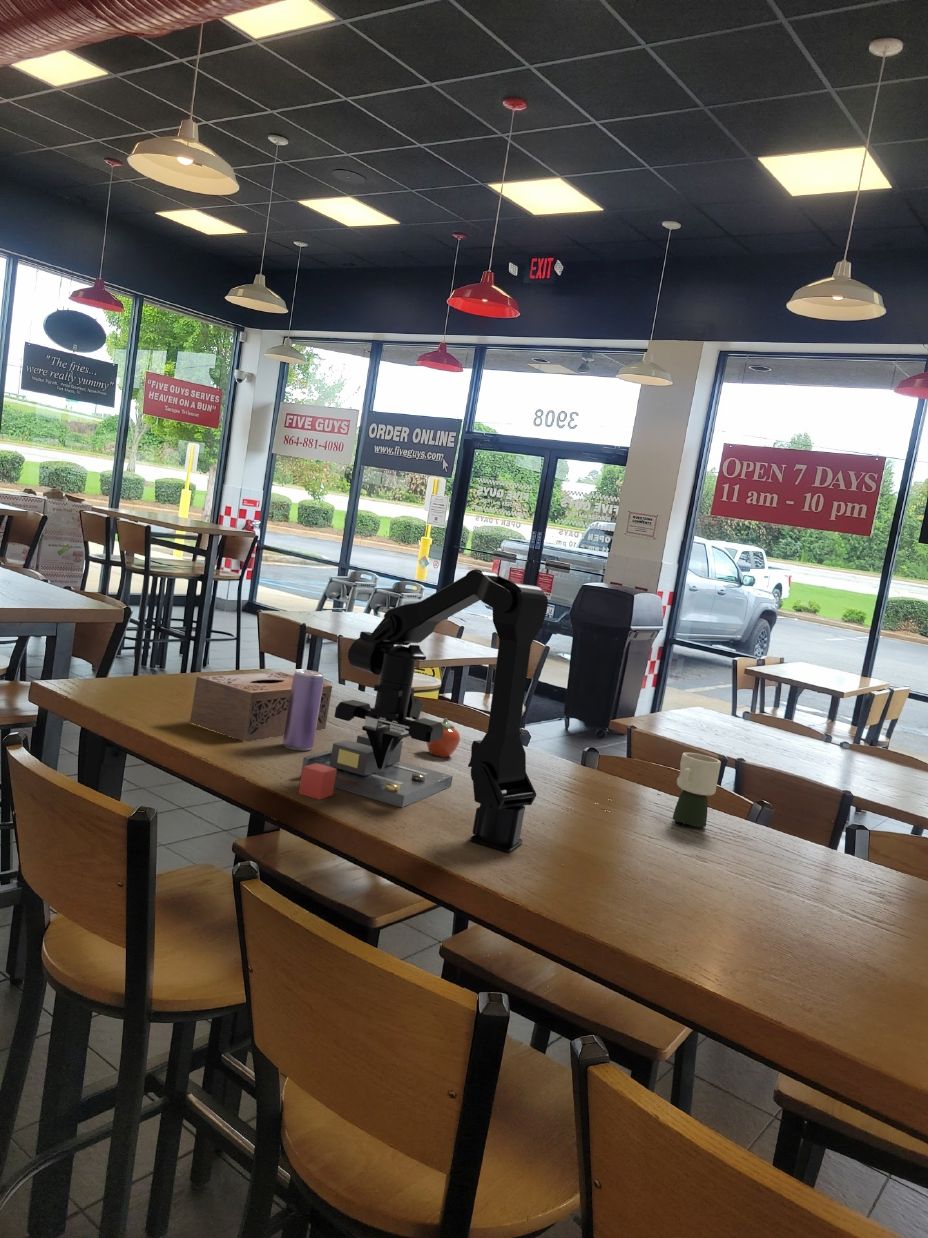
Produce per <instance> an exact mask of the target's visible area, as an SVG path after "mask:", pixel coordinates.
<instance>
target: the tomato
mask: <svg viewBox="0 0 928 1238" xmlns="http://www.w3.org/2000/svg"><path fill="white" fill-rule="evenodd" d="M440 722H441V724H442V726H443V729H444V730H443V736H442V739H439V740H435V741H432V742H425V744H426V747H427V750H428V752H429V753H430V754H431V755H432V754H433V755H432V756H435V757H438V756H441V757H440V758H449V757H450V756H451V755H452V754H453V753H454V752H455V751H456V750H457V748H458V747H459V745H460V741H461V736H460V735H461V734H460V733H459V731H458V730H457V729H456V728H455V726H454V724H451V723H450V722H449V721H448V718H447V717H445V718H443V720H442V721H440Z"/></svg>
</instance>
